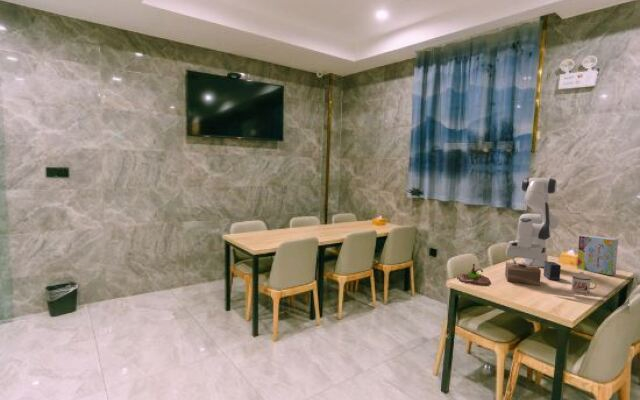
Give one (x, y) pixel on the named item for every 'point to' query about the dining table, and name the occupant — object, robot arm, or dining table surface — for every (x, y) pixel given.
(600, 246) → the snack box
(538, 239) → the robot arm
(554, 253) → the dining table surface
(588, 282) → the teacup with lid
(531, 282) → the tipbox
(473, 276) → the plant
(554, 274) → the small box
